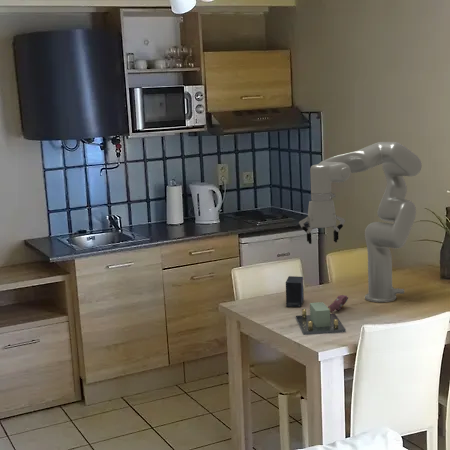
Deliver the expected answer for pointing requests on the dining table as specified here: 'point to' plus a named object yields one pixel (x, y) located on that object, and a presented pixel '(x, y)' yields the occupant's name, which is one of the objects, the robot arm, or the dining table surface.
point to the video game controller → (338, 303)
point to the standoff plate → (310, 328)
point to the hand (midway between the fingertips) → (322, 242)
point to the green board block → (320, 314)
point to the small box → (294, 291)
